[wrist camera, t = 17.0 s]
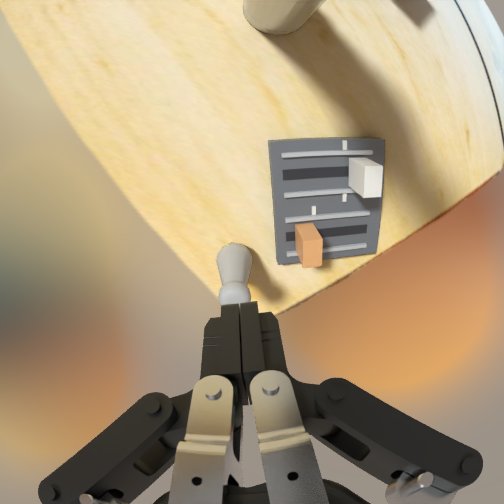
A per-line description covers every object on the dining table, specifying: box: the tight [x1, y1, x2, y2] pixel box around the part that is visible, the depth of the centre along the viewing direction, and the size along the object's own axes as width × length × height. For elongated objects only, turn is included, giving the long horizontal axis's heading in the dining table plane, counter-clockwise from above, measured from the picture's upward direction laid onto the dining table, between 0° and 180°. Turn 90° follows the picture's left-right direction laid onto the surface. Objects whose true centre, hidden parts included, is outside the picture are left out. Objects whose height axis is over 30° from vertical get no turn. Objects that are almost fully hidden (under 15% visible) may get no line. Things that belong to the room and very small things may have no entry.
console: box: [268, 137, 385, 265], centre depth 42 cm, size 20×18×3 cm
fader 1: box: [295, 223, 323, 268], centre depth 41 cm, size 4×3×6 cm, turn 5°
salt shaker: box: [216, 242, 253, 307], centre depth 41 cm, size 6×6×13 cm
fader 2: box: [349, 158, 383, 198], centre depth 36 cm, size 4×3×6 cm, turn 5°
